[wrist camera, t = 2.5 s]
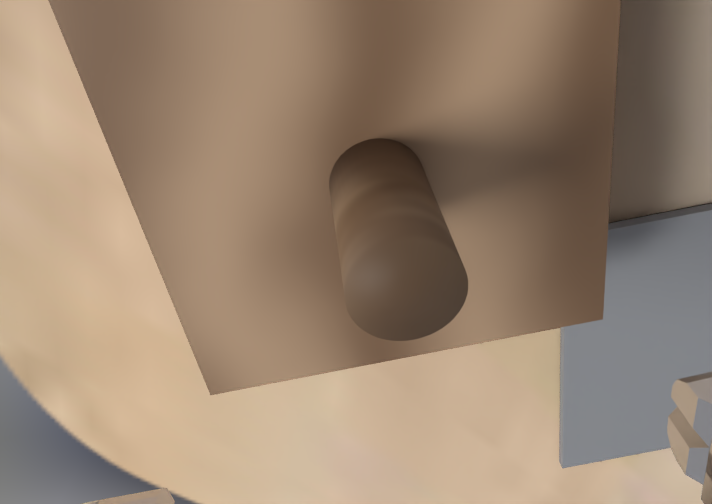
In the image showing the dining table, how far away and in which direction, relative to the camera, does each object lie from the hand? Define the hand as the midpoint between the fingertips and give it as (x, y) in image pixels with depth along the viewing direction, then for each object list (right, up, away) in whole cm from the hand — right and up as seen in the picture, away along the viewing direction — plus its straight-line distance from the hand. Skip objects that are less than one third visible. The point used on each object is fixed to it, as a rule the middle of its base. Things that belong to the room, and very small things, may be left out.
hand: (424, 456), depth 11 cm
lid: (-1, +6, +8) cm, 10 cm away
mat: (+14, 0, +17) cm, 22 cm away
